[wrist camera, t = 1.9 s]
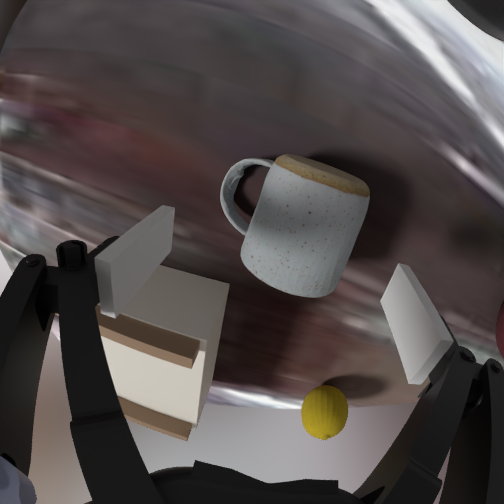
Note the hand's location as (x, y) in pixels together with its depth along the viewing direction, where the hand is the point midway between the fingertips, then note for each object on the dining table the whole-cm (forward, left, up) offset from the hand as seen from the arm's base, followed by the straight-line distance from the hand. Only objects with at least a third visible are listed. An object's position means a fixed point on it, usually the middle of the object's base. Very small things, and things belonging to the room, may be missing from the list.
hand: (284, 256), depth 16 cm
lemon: (-10, +21, -9) cm, 25 cm away
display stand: (+11, +17, -9) cm, 22 cm away
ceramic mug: (0, 0, -9) cm, 9 cm away
